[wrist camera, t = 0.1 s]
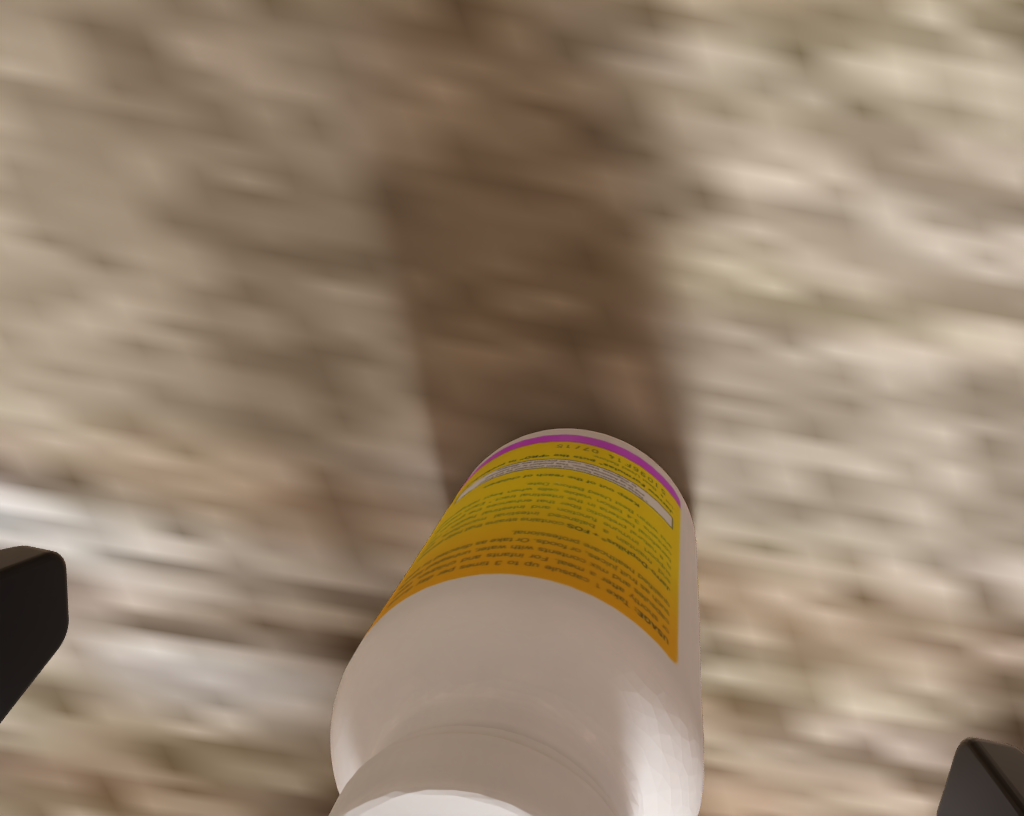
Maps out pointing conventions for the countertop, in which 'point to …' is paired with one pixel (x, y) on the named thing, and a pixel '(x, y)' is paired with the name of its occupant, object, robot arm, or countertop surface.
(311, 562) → the countertop surface
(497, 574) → the supplement bottle
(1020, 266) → the countertop surface
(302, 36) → the countertop surface
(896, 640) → the countertop surface
